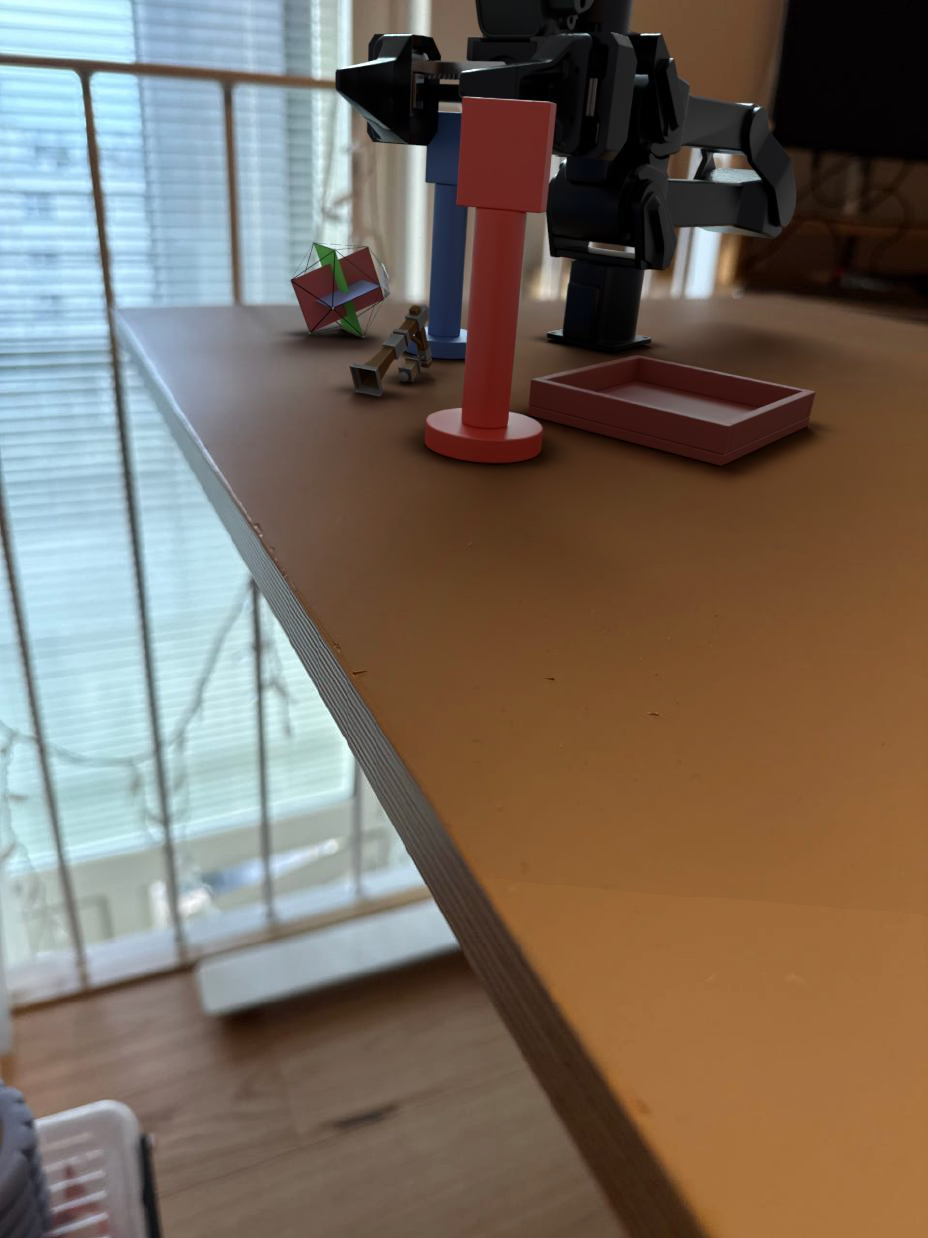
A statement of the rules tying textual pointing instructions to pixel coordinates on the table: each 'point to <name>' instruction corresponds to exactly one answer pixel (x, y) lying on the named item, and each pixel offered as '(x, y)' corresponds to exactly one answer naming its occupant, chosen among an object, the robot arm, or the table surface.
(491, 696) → the table surface
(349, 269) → the geometric puzzle
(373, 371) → the jointed funnel contraption
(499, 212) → the signpost on round base
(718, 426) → the red tray
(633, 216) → the robot arm
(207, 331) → the table surface
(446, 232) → the blue pillar
